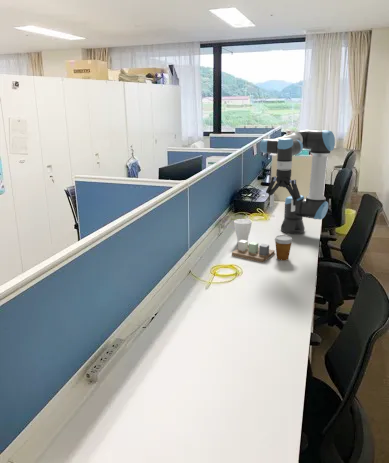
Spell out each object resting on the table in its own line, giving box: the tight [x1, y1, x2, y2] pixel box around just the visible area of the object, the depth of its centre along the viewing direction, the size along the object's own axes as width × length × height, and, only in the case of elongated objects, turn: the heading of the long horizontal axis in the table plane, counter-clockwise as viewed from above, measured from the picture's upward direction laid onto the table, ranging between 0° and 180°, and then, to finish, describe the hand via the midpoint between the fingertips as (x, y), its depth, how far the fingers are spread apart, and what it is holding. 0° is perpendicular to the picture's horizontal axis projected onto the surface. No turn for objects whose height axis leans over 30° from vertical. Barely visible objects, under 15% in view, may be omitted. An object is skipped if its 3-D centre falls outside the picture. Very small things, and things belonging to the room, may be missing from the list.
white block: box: [237, 240, 249, 251], centre depth 232 cm, size 4×4×5 cm
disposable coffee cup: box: [274, 234, 293, 261], centre depth 222 cm, size 10×10×12 cm
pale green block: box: [248, 241, 259, 254], centre depth 228 cm, size 4×4×5 cm
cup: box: [233, 218, 253, 244], centre depth 247 cm, size 10×10×14 cm
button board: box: [231, 244, 276, 263], centre depth 229 cm, size 15×19×2 cm
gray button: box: [258, 243, 270, 256], centre depth 225 cm, size 4×4×5 cm
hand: (282, 208), depth 218 cm, fingers open, 13 cm apart
